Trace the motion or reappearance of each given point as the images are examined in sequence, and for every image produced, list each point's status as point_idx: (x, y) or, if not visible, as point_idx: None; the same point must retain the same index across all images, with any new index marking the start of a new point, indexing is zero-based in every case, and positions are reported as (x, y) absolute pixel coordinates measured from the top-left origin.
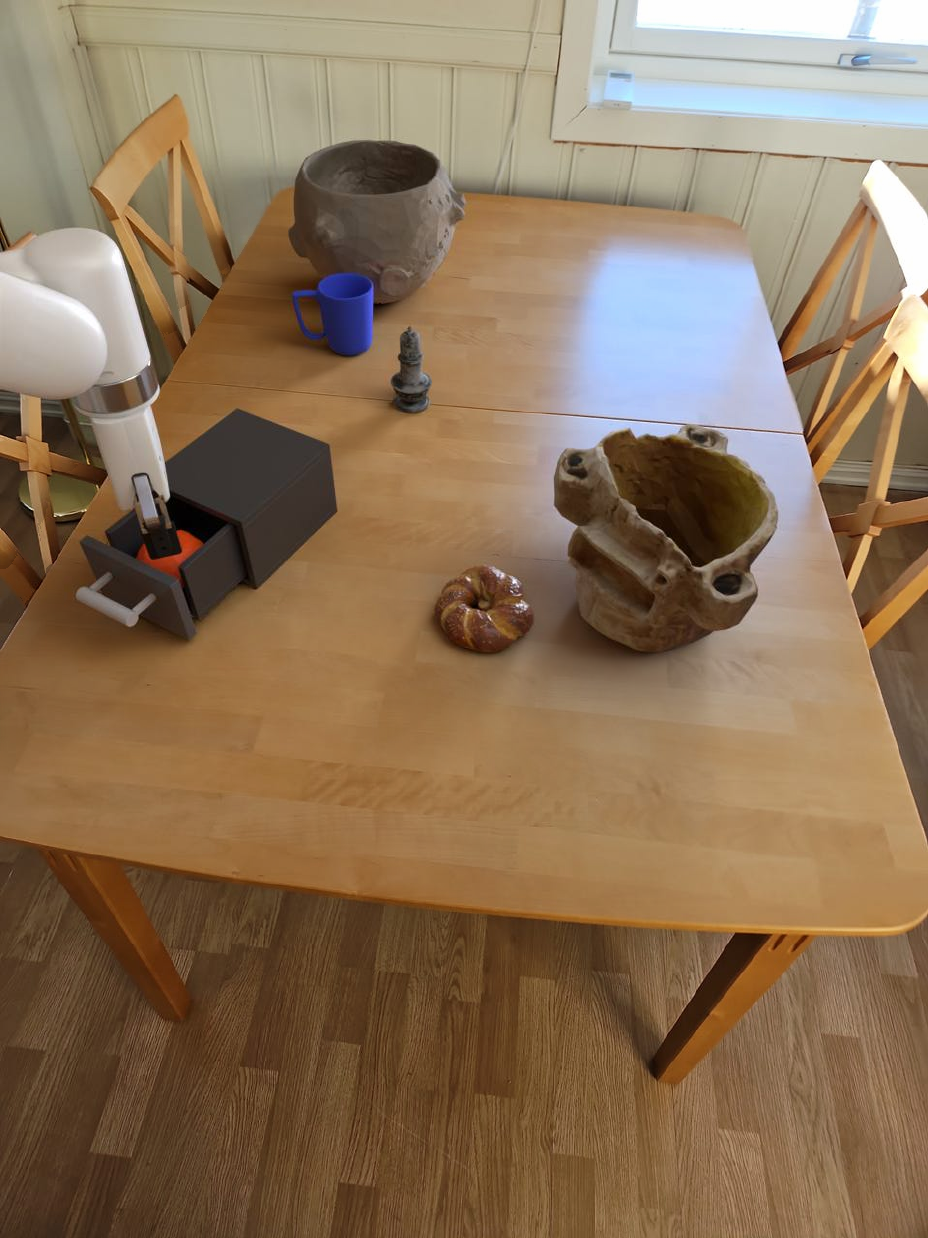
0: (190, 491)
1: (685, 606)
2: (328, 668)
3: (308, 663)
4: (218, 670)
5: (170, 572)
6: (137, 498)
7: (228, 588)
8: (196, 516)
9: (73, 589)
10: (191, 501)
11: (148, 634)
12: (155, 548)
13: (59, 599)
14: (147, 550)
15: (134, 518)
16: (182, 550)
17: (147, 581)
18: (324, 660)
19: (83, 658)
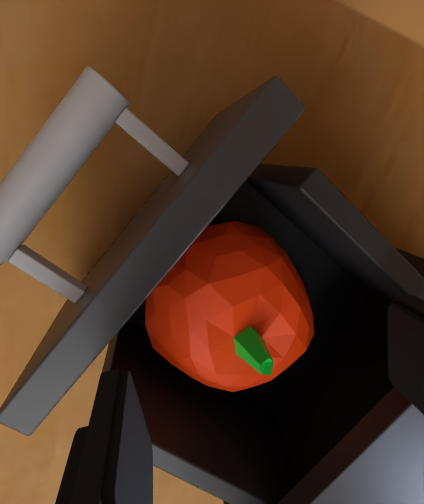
0: (407, 437)
1: None
2: (8, 498)
3: (20, 471)
4: (7, 343)
5: (158, 333)
6: (419, 312)
7: None
8: (384, 311)
9: (266, 37)
10: (365, 438)
11: (110, 211)
12: (69, 461)
13: (241, 3)
14: (95, 402)
15: (361, 255)
16: (215, 374)
17: (69, 319)
18: (26, 491)
19: (50, 75)
